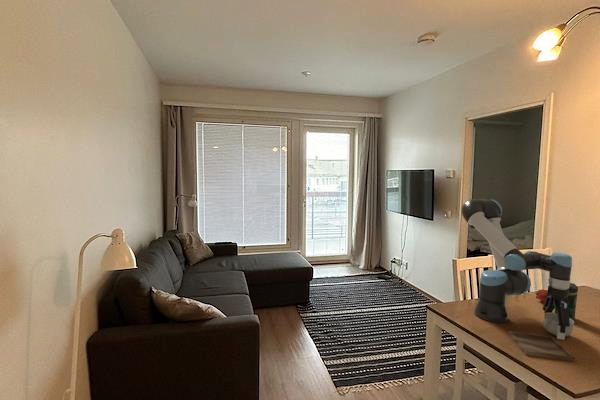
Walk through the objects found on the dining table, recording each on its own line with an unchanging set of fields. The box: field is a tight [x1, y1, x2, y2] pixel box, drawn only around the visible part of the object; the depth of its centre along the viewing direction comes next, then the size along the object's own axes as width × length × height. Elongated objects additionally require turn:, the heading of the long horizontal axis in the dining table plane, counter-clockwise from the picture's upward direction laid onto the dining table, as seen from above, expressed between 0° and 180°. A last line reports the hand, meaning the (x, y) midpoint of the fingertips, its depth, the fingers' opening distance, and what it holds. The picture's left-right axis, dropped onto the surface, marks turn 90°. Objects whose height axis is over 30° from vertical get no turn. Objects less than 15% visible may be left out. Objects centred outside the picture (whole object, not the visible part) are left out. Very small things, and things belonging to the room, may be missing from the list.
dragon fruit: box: [535, 288, 548, 304], centre depth 185 cm, size 8×8×12 cm
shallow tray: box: [508, 330, 575, 363], centre depth 136 cm, size 17×17×2 cm
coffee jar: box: [554, 282, 579, 321], centre depth 165 cm, size 10×8×19 cm
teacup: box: [542, 311, 575, 337], centre depth 147 cm, size 14×11×8 cm
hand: (553, 332), depth 148 cm, fingers closed on teacup, 11 cm apart
